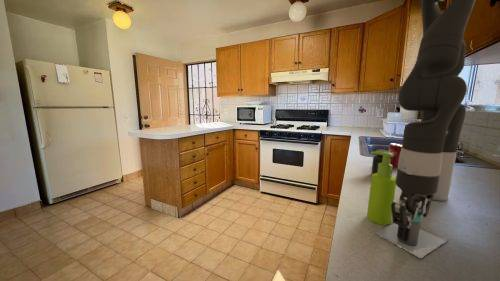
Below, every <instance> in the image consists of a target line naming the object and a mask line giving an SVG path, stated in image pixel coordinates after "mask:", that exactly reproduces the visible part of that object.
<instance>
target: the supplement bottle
mask: <svg viewBox="0 0 500 281" xmlns="http://www.w3.org/2000/svg"><path fill="white" fill-rule="evenodd" d="M375 151H383V152H388V153H389V150H387V149H376V150H375ZM382 160H383V155H379V154H374V155H373V157H372V162H371V163H372V164H371V173H370V174H371V175H372V174H374V173H377V171H378V164H379V163H381V162H382ZM390 160H391V159H390Z"/></svg>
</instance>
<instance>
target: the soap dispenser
mask: <svg viewBox="0 0 500 281" xmlns="http://www.w3.org/2000/svg"><path fill="white" fill-rule="evenodd" d="M376 154H379V155H383V160H382V162H381V163H379V164H378V171H377V173H374V174H371V178H370V179H371V181H370V189H369V197H368V203H367V204H368V206H367V211H366V217H368V218H367V219H368V220H369V219H370V220H371V221H370V220H369V221H370V222H372V221H373V222H372V223H374V222H375V224H377V223H378V224H377V225H381V224H383V225H384V226H388V225H391V221H392V209H391V204H392V202H394V200H395V193H396V187H397V185H396V177H395V176H393V169H394V168H393V165H391V164H390V157H393V153H388V152H383V151H376V150H375V151H374V150H372V151H370V155H376ZM387 224H388V225H387ZM383 225H382V226H383Z"/></svg>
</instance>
